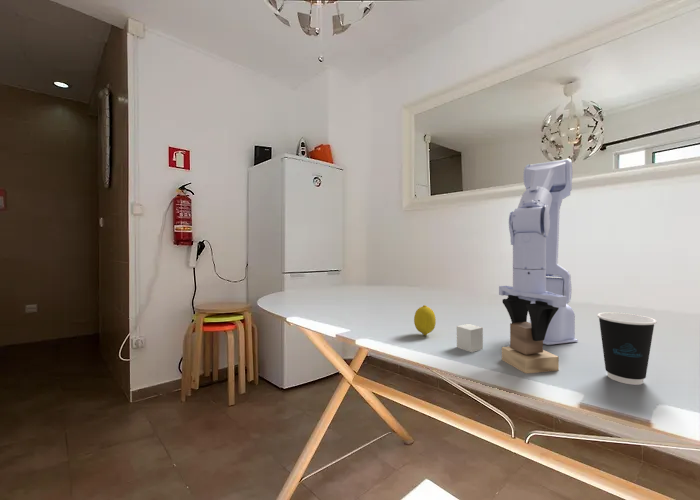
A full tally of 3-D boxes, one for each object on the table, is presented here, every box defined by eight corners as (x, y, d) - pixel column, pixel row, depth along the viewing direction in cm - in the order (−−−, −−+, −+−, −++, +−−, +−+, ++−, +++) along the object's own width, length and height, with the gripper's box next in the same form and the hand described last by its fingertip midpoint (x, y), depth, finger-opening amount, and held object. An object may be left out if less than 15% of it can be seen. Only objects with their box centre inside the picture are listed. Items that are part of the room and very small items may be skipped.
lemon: (436, 339, 81) (436, 307, 81) (414, 338, 82) (413, 307, 82) (435, 332, 86) (434, 303, 86) (414, 332, 87) (414, 302, 87)
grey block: (468, 344, 76) (468, 323, 76) (482, 349, 73) (482, 327, 73) (456, 347, 74) (456, 326, 74) (470, 352, 71) (470, 330, 71)
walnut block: (526, 345, 66) (526, 321, 65) (542, 352, 62) (542, 326, 62) (510, 347, 65) (510, 323, 64) (525, 354, 61) (525, 328, 61)
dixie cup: (627, 369, 60) (627, 311, 60) (669, 388, 53) (670, 322, 52) (585, 370, 60) (586, 312, 60) (622, 389, 52) (622, 323, 52)
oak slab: (531, 358, 67) (531, 344, 67) (558, 372, 60) (558, 356, 60) (501, 361, 66) (501, 347, 66) (525, 375, 59) (525, 359, 59)
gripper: (486, 266, 69) (487, 328, 69) (543, 272, 55) (543, 350, 55) (514, 265, 71) (514, 326, 71) (575, 271, 57) (575, 346, 57)
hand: (528, 336), depth 63 cm, fingers closed on walnut block, 4 cm apart
